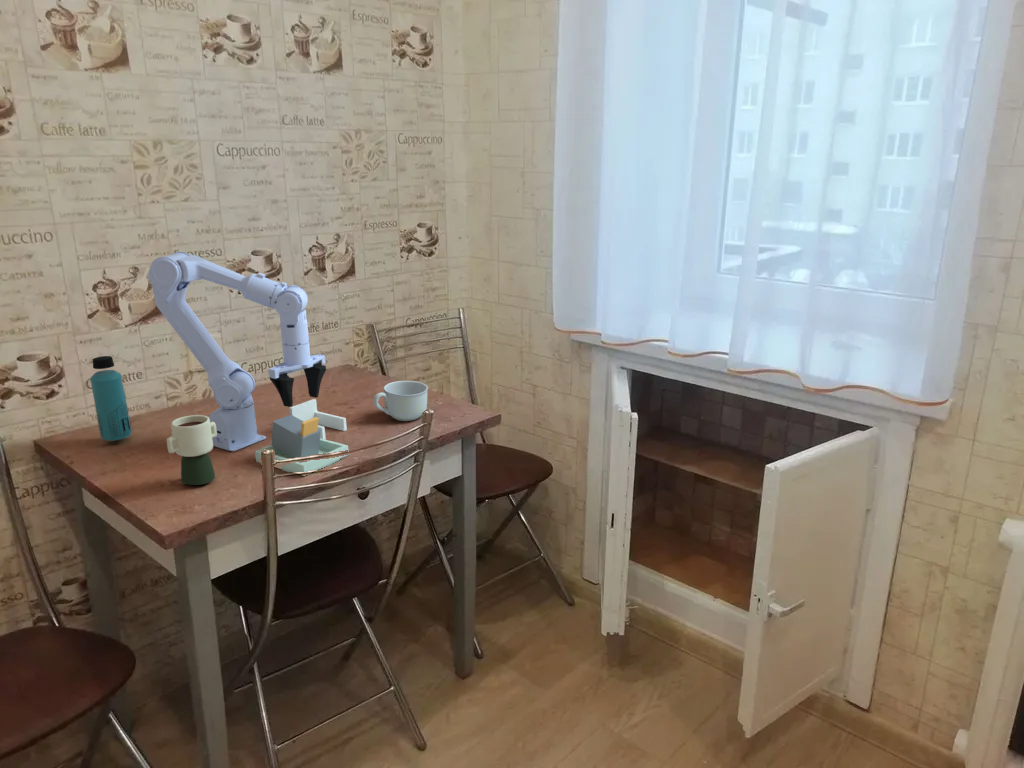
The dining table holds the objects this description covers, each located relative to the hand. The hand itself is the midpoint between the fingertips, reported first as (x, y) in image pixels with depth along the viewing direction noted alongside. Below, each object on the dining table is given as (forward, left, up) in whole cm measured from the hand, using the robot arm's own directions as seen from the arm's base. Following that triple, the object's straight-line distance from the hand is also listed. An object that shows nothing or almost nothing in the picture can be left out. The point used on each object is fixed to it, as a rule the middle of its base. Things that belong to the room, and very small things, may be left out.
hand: (301, 401), depth 165 cm
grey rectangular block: (-8, -6, -8) cm, 13 cm away
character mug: (-27, +1, -10) cm, 29 cm away
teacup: (+23, -9, -10) cm, 27 cm away
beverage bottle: (-23, +36, -10) cm, 44 cm away
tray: (-8, -8, -9) cm, 15 cm away
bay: (+6, +1, -9) cm, 11 cm away
